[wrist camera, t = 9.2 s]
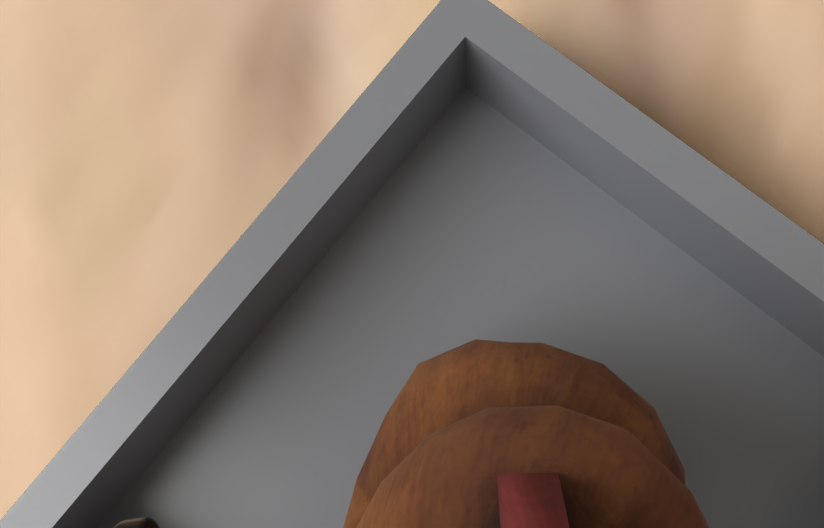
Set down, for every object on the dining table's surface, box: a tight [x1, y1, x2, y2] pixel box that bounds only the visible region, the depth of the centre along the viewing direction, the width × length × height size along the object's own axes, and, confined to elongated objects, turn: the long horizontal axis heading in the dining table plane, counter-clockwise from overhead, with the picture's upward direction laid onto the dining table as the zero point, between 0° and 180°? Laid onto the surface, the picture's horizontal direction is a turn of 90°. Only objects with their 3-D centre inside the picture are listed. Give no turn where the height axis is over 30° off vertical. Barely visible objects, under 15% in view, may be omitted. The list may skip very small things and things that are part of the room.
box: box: [0, 0, 824, 528], centre depth 17 cm, size 16×17×4 cm
